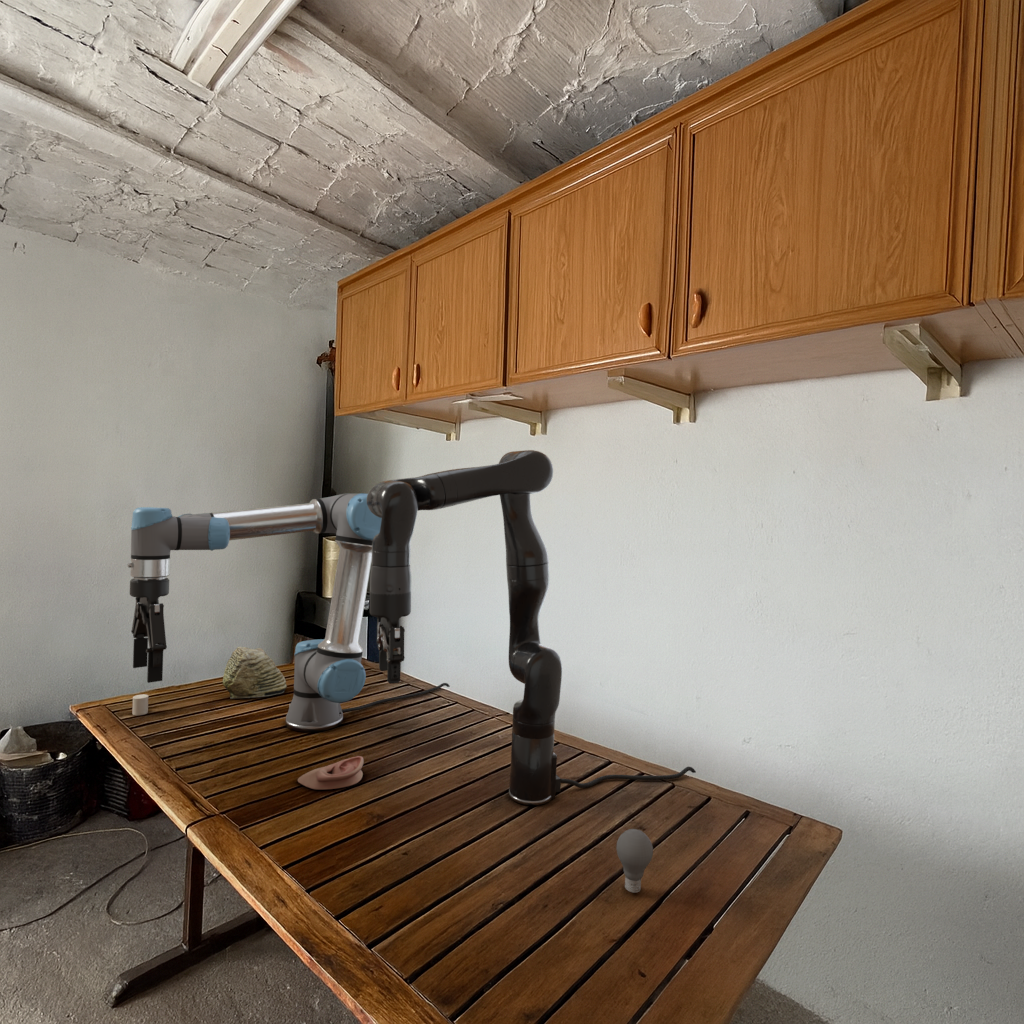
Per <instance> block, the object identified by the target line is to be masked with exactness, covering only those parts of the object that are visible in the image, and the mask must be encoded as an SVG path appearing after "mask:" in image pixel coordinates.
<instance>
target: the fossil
mask: <svg viewBox="0 0 1024 1024" xmlns="http://www.w3.org/2000/svg"><path fill="white" fill-rule="evenodd" d="M222 676H223V677H222V685H223V687H224V688H225V690H226V691H228V693H229V698H230V699H250V698H264V697H271V696H275V695H281V694H284V693H285V691H286V689H287V687H288V686H287V680H286V678H285V676H284V674H283V673H282V672H281V669H279V668H278V667H277V665H276V663H275V662H274V660H273V659H272V658H271V657H270V656H269V655H268V654H267V653H266V652H265V650H264V649H263V648H260V647H258V648H251V647H247V646H246V647H245V646H238V647H237V648H236V649H235V650H233V651H232V653H231V656H230V657H229V659H228V660H227V663H226V666H225V668H224V671H223V675H222Z"/></svg>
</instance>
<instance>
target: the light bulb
mask: <svg viewBox="0 0 1024 1024" xmlns="http://www.w3.org/2000/svg"><path fill="white" fill-rule="evenodd" d="M615 849H616V854H617V857H618V859H619V861H620V863H621V865H622V867H623V873H624V874H623V875H624V876H625V878H624V888H625V890H627V891H628V892H630V893H634V894H635V893H639V892H640V891H641V889H642V887H641V886H642V879H643V877H644V875H645V871H646V868H647V867H648V866H649V864H650V863H651V861H652V859H653V855H654V847H653V843H652V841H651V838H649V836H648V835H647V834H646V833H645V832H643V831H642V830H641V829H636V828H629V829H627V830H625V831H623V832H622V833H621V834H620V835H619V837H618V839H617V841H616V847H615Z"/></svg>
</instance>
